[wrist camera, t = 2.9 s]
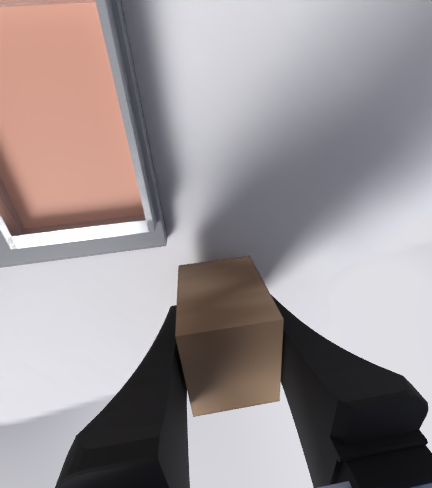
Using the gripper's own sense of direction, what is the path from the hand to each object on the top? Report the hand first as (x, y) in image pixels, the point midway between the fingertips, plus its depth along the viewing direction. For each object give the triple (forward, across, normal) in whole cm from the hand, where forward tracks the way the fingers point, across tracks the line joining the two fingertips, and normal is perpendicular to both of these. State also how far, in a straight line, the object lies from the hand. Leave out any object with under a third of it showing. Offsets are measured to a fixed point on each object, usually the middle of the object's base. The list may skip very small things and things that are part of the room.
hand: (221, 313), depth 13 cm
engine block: (+2, 0, 0) cm, 2 cm away
